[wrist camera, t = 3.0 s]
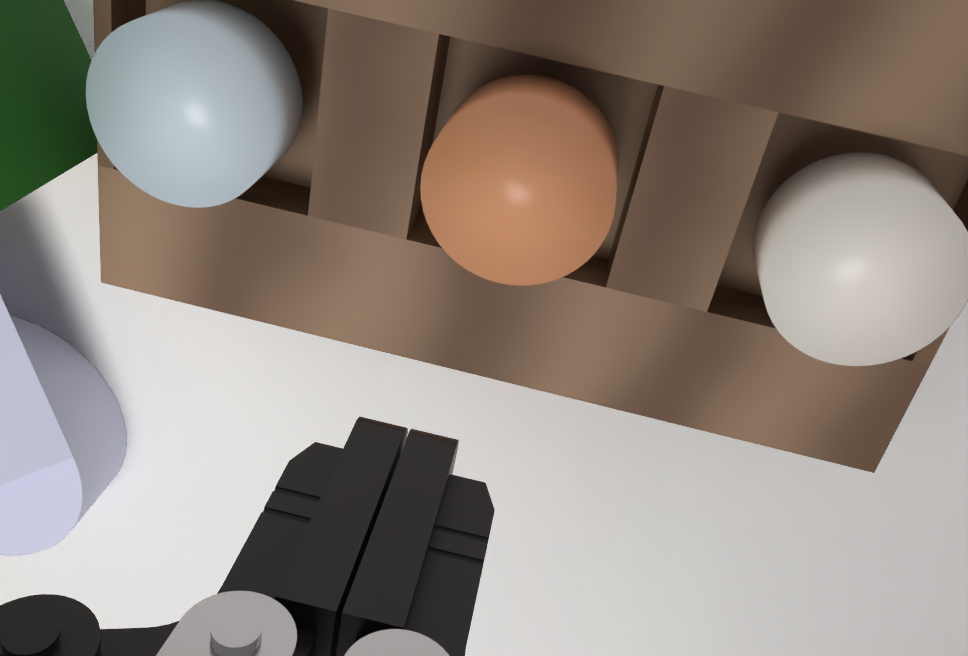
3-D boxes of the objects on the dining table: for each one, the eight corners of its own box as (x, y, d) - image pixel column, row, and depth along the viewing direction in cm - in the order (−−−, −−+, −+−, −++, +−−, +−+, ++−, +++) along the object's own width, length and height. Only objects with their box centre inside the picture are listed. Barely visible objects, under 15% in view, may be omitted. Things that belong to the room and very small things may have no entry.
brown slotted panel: (1063, -11, 24) (1114, 9, 21) (854, 417, 31) (873, 472, 28) (145, -215, 25) (87, -219, 22) (145, 244, 32) (101, 282, 29)
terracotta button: (639, 98, 24) (639, 125, 22) (593, 265, 27) (588, 304, 24) (456, 55, 24) (437, 78, 22) (426, 225, 27) (407, 261, 25)
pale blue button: (310, 22, 25) (277, 41, 22) (295, 194, 27) (264, 226, 25) (132, -20, 25) (82, -4, 23) (133, 155, 27) (88, 183, 25)
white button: (979, 176, 24) (1013, 212, 22) (900, 339, 26) (923, 385, 24) (789, 132, 24) (803, 163, 22) (729, 298, 26) (736, 340, 24)
